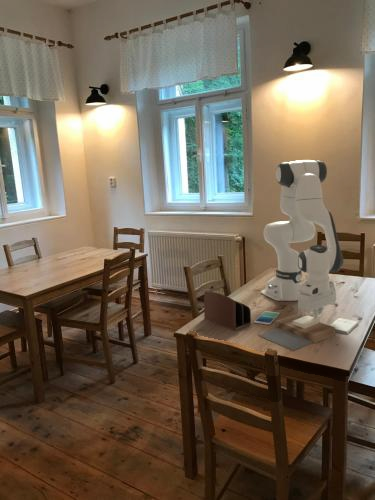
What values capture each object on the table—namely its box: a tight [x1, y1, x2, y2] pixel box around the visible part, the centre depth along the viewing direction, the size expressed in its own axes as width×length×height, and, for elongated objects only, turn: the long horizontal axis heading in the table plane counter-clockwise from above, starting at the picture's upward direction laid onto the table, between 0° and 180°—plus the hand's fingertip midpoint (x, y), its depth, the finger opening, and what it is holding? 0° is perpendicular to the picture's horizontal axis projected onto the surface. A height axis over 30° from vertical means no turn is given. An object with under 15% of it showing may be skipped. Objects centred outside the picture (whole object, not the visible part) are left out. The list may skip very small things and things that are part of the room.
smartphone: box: [253, 310, 281, 326], centre depth 182 cm, size 8×1×15 cm
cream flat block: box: [293, 314, 320, 329], centre depth 166 cm, size 6×9×2 cm, turn 124°
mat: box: [258, 327, 313, 352], centre depth 160 cm, size 18×11×1 cm, turn 34°
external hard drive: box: [329, 317, 359, 335], centre depth 168 cm, size 2×8×12 cm
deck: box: [275, 313, 336, 344], centre depth 166 cm, size 20×12×3 cm, turn 34°
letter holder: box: [203, 290, 252, 331], centre depth 179 cm, size 10×20×14 cm, turn 38°
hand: (317, 317), depth 169 cm, fingers closed
